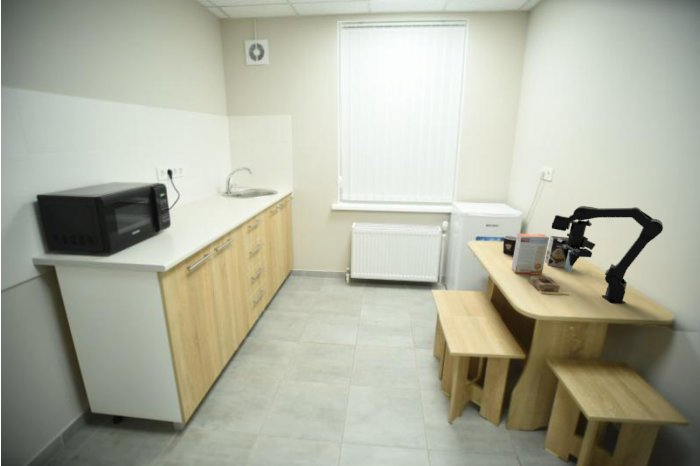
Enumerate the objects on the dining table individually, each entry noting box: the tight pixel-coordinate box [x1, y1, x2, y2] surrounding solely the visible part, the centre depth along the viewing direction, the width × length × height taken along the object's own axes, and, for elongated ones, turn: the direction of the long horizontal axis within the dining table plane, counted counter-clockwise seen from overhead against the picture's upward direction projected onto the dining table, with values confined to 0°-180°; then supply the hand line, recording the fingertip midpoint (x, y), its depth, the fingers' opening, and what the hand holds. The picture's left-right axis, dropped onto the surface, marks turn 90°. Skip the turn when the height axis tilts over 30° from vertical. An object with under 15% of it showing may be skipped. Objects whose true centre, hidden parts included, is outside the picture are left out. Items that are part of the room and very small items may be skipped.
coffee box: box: [544, 235, 568, 268], centre depth 190 cm, size 9×6×16 cm
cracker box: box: [511, 233, 550, 275], centre depth 177 cm, size 14×6×21 cm, turn 86°
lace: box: [538, 290, 570, 296], centre depth 158 cm, size 4×12×1 cm, turn 87°
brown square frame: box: [529, 276, 560, 292], centre depth 162 cm, size 9×9×4 cm
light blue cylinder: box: [563, 250, 574, 272], centre depth 160 cm, size 3×3×10 cm
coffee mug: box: [502, 235, 517, 256], centre depth 206 cm, size 12×9×10 cm
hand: (569, 264), depth 160 cm, fingers closed on light blue cylinder, 3 cm apart
